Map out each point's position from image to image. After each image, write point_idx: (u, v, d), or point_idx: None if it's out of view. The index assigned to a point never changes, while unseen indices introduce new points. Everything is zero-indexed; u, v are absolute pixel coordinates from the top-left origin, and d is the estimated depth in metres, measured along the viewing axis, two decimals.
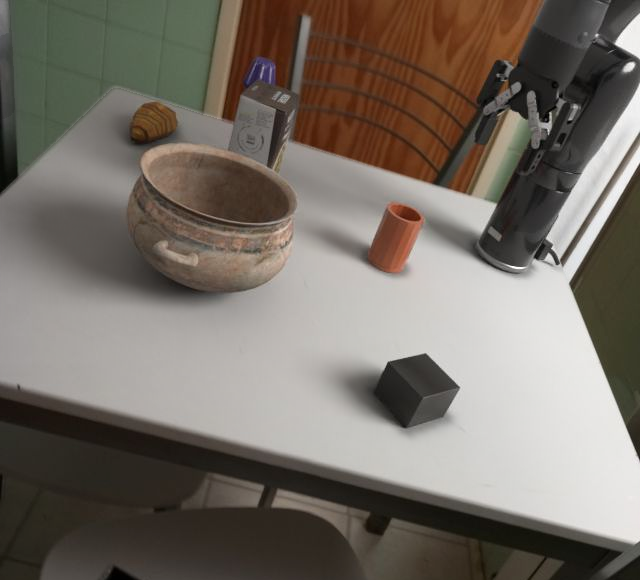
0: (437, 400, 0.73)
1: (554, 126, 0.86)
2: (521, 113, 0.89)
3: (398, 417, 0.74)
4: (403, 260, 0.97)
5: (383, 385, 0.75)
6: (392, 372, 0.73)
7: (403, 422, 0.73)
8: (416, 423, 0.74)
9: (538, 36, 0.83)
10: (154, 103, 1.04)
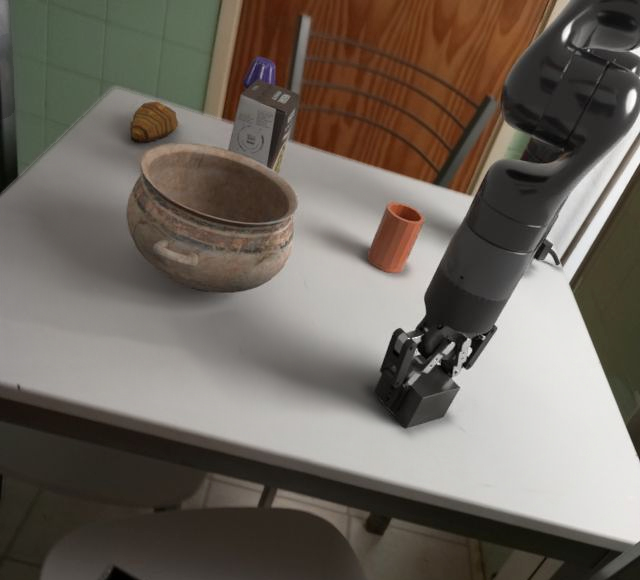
0: (437, 400, 0.73)
1: None
2: None
3: (398, 417, 0.74)
4: (403, 260, 0.97)
5: (383, 385, 0.75)
6: None
7: (403, 422, 0.73)
8: (416, 423, 0.74)
9: None
10: (154, 103, 1.04)
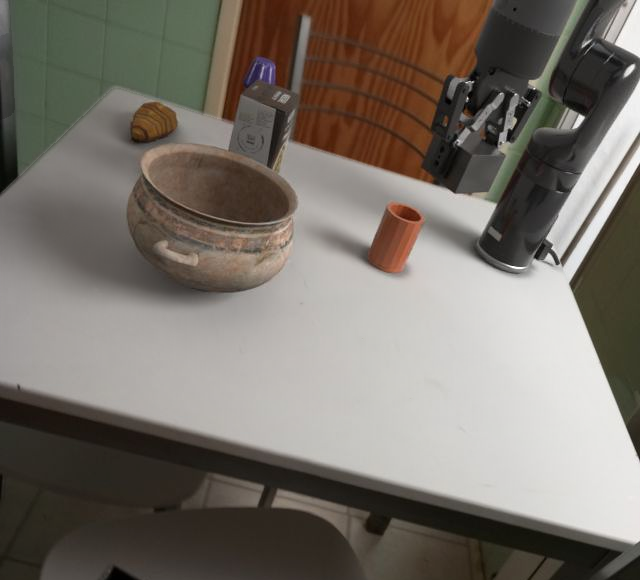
0: (484, 165, 0.75)
1: None
2: None
3: (446, 184, 0.76)
4: (403, 260, 0.97)
5: (431, 156, 0.77)
6: None
7: (452, 188, 0.76)
8: (464, 190, 0.76)
9: None
10: (154, 103, 1.04)
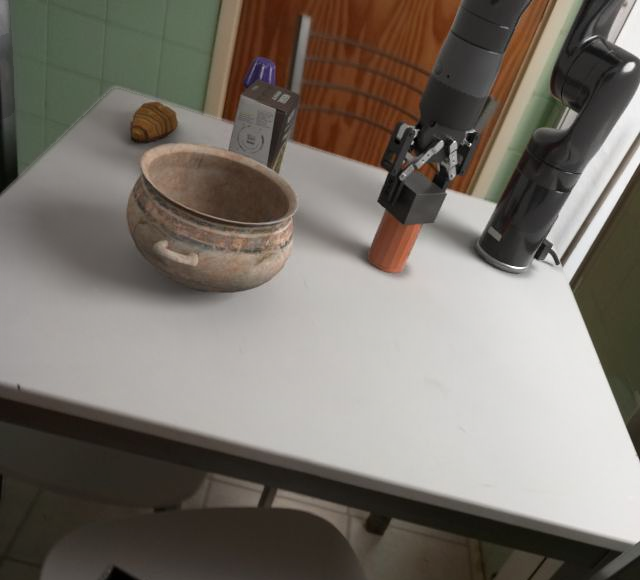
0: (428, 201, 0.91)
1: None
2: None
3: (397, 217, 0.92)
4: (403, 260, 0.97)
5: None
6: None
7: (401, 220, 0.91)
8: (411, 222, 0.92)
9: None
10: (154, 103, 1.04)
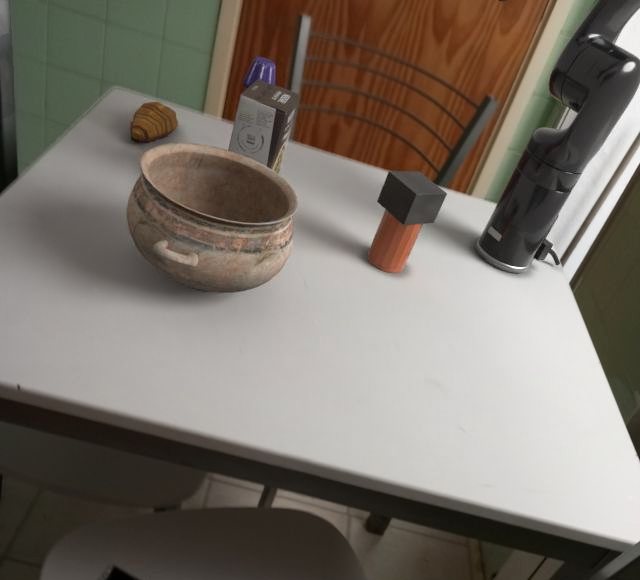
0: (428, 201, 0.91)
1: None
2: None
3: (397, 217, 0.92)
4: (403, 260, 0.97)
5: (385, 193, 0.93)
6: (392, 179, 0.91)
7: (401, 220, 0.91)
8: (411, 222, 0.92)
9: None
10: (154, 103, 1.04)
